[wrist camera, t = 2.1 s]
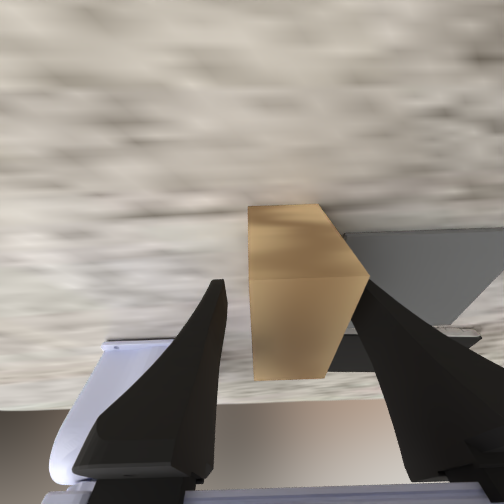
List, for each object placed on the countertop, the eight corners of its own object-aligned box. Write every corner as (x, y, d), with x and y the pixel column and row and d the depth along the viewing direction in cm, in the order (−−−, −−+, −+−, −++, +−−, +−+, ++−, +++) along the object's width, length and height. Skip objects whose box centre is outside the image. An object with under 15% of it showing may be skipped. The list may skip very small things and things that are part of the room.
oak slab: (251, 298, 16) (254, 380, 11) (247, 205, 11) (248, 280, 7) (301, 296, 16) (324, 378, 11) (317, 203, 11) (370, 275, 7)
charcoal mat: (317, 325, 18) (318, 329, 18) (344, 233, 12) (347, 236, 12) (446, 321, 18) (450, 325, 18) (535, 226, 12) (542, 229, 12)
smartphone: (330, 333, 18) (487, 335, 19) (326, 321, 19) (475, 324, 20) (311, 372, 23) (436, 373, 23) (308, 361, 24) (429, 362, 24)
